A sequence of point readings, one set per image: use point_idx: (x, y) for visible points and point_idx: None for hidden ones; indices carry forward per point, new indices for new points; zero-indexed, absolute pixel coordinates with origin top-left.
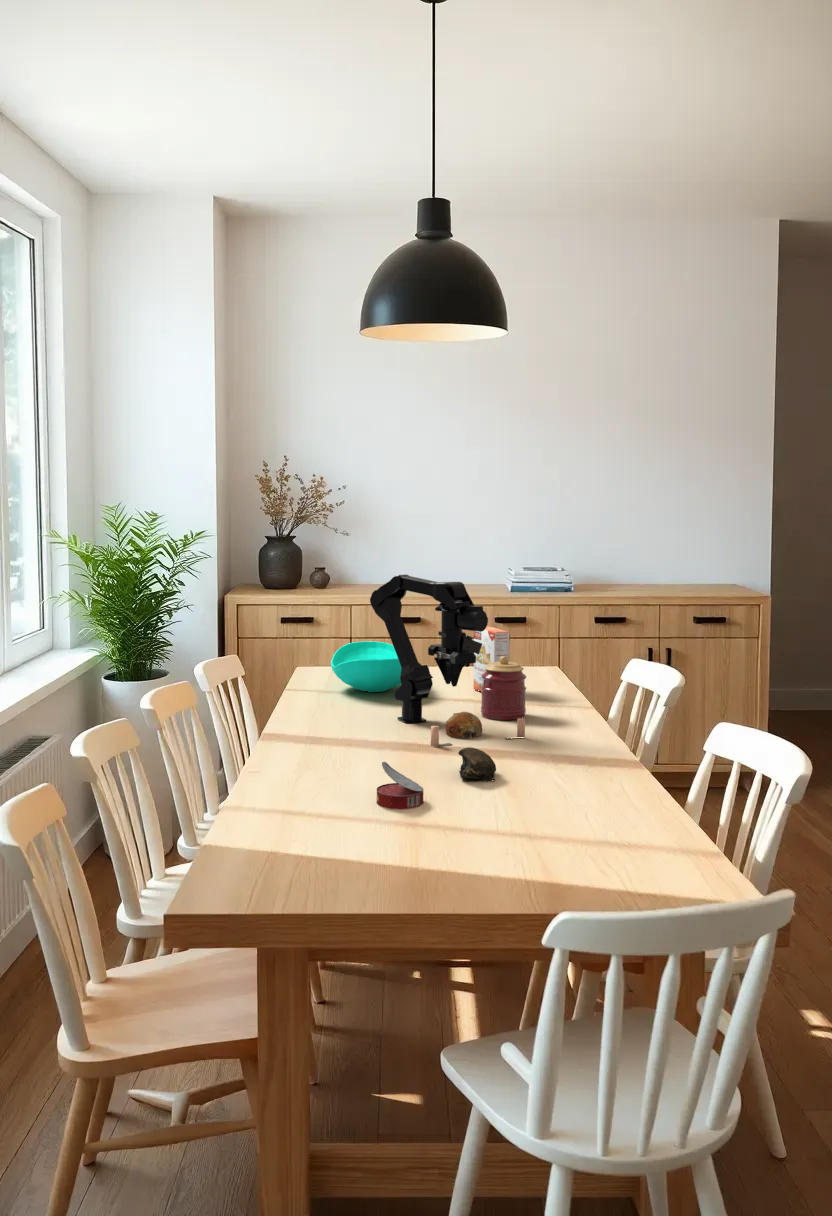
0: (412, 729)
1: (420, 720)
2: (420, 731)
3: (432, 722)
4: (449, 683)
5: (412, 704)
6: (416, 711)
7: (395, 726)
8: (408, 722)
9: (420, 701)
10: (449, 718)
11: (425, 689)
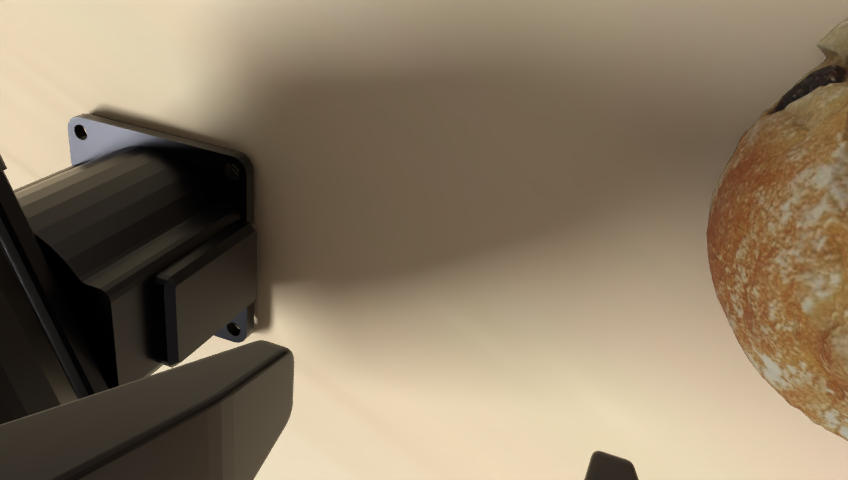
0: (452, 425)
1: (256, 232)
2: (553, 431)
3: (286, 117)
4: (289, 365)
5: (142, 370)
6: (206, 311)
7: (303, 443)
8: (252, 321)
9: (117, 303)
10: (816, 394)
11: (27, 350)
